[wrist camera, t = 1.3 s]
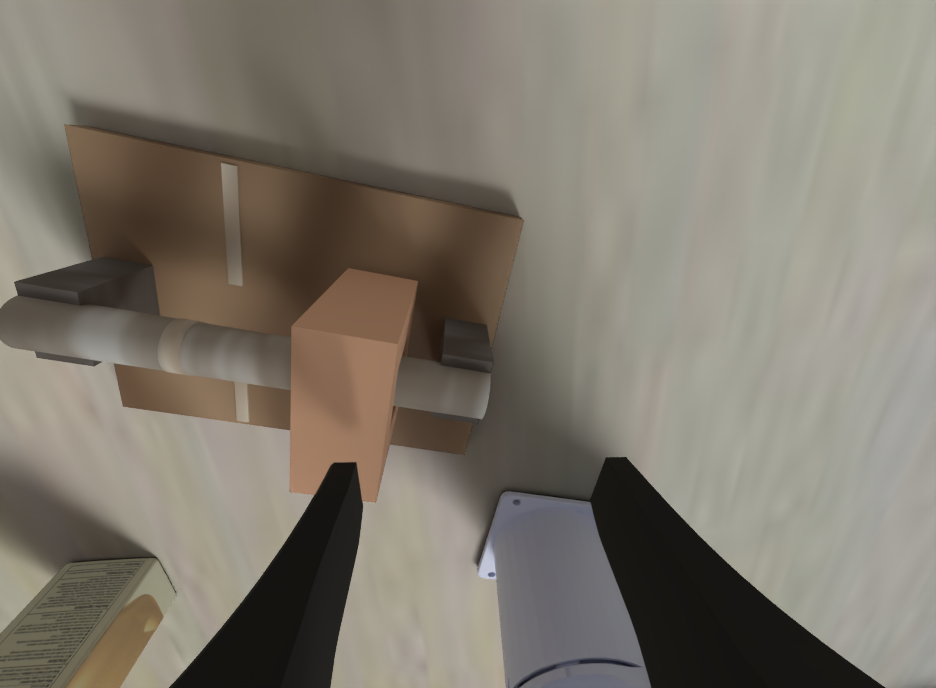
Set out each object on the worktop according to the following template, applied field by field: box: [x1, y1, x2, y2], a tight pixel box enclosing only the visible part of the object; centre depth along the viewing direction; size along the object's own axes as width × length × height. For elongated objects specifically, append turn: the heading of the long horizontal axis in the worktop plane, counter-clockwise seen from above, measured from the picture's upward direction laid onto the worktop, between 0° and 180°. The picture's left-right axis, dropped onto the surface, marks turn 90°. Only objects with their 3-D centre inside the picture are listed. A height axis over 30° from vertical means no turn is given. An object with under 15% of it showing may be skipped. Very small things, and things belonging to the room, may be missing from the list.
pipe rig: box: [0, 125, 524, 455], centre depth 17 cm, size 18×13×6 cm
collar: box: [290, 268, 418, 503], centre depth 15 cm, size 3×6×6 cm, turn 169°
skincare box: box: [0, 558, 177, 688], centre depth 22 cm, size 6×4×12 cm
